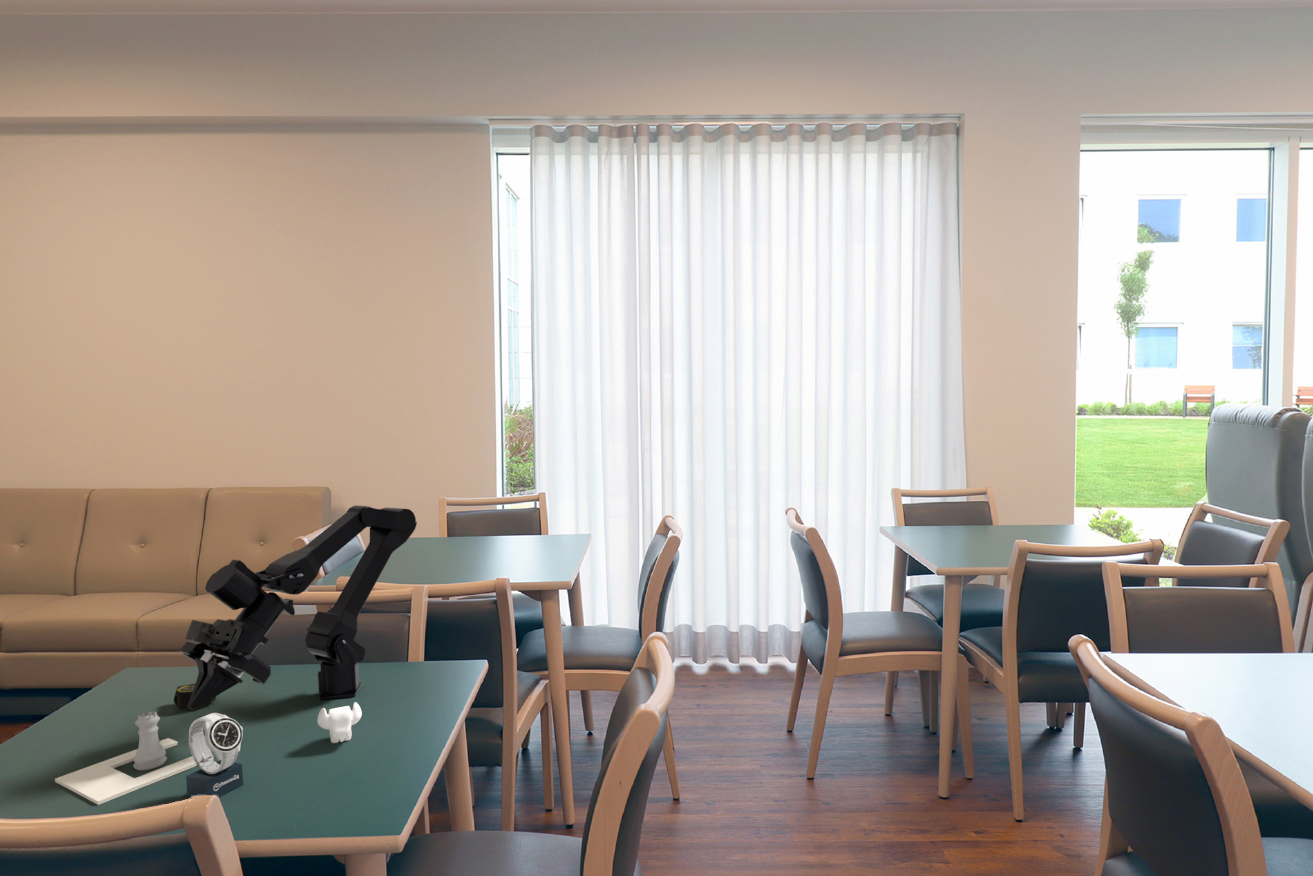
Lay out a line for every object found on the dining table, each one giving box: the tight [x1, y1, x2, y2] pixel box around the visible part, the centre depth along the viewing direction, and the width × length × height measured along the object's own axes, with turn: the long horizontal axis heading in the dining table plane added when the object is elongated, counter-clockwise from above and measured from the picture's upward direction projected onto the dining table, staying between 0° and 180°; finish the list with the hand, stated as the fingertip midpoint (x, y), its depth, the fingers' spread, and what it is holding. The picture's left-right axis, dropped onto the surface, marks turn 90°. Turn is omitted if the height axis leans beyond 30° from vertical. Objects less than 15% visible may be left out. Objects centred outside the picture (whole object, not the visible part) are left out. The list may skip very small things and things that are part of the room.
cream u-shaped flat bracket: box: [54, 737, 215, 806], centre depth 120 cm, size 16×14×1 cm
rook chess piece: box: [133, 711, 168, 772], centre depth 121 cm, size 4×4×8 cm
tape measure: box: [173, 682, 217, 709], centre depth 146 cm, size 7×7×4 cm
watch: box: [185, 712, 244, 798], centre depth 112 cm, size 6×8×11 cm
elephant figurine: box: [317, 701, 363, 744], centre depth 128 cm, size 7×8×6 cm
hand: (190, 708), depth 127 cm, fingers closed
